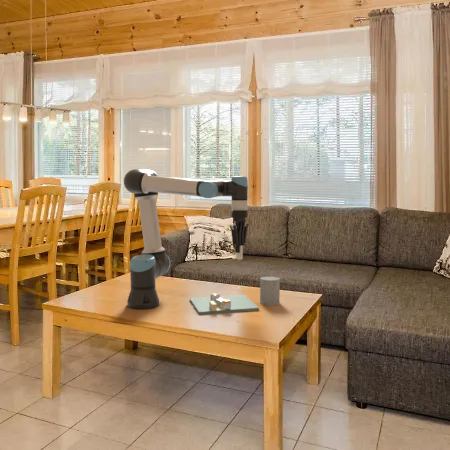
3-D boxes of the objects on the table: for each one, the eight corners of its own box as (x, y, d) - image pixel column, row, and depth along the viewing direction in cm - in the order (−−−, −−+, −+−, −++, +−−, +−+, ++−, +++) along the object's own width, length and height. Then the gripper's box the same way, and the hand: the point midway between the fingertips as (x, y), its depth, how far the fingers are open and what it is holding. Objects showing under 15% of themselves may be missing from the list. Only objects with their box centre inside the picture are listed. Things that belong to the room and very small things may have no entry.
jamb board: (199, 314, 219) (199, 305, 218) (189, 300, 242) (189, 292, 242) (258, 310, 226) (258, 301, 225) (244, 297, 249) (244, 288, 248)
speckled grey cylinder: (265, 306, 232) (265, 281, 231) (256, 301, 241) (256, 276, 239) (283, 304, 236) (283, 279, 234) (273, 299, 244) (274, 275, 243)
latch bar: (208, 302, 234) (208, 294, 233) (216, 301, 236) (216, 292, 235) (223, 309, 221) (223, 301, 221) (232, 308, 224) (232, 299, 223)
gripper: (240, 207, 236) (239, 256, 239) (225, 209, 225) (224, 260, 228) (253, 208, 232) (253, 257, 235) (238, 210, 221) (238, 262, 224)
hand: (239, 259), depth 231 cm, fingers closed
